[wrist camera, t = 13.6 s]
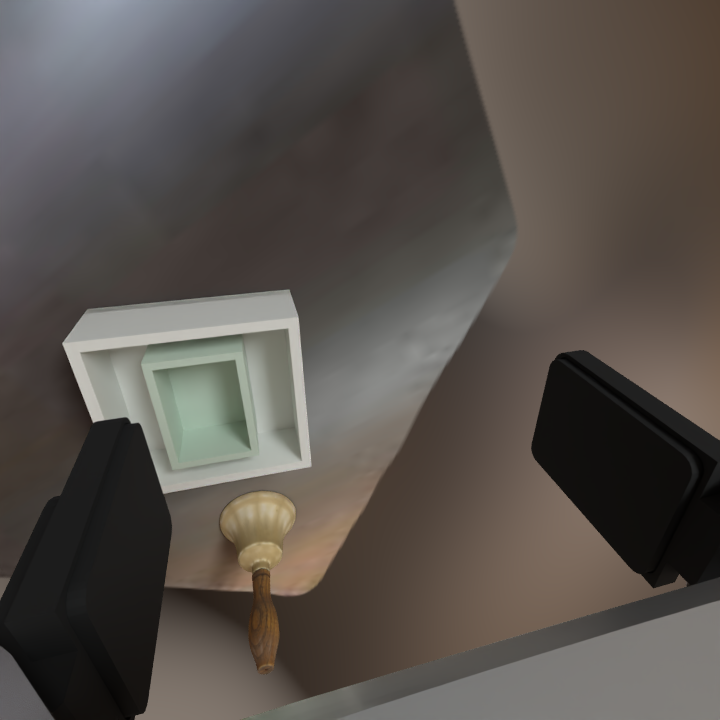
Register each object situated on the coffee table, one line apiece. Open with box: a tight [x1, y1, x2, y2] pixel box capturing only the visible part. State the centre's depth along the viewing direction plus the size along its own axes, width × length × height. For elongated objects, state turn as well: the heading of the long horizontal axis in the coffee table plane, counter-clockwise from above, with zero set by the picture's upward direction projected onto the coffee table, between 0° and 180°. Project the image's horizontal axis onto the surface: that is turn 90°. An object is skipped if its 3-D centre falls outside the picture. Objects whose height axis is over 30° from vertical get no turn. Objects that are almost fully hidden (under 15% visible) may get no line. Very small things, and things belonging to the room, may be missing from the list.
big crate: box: [62, 289, 311, 494], centre depth 37 cm, size 15×16×6 cm
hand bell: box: [220, 491, 296, 674], centre depth 42 cm, size 8×8×16 cm
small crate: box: [141, 334, 259, 470], centre depth 36 cm, size 10×7×5 cm
